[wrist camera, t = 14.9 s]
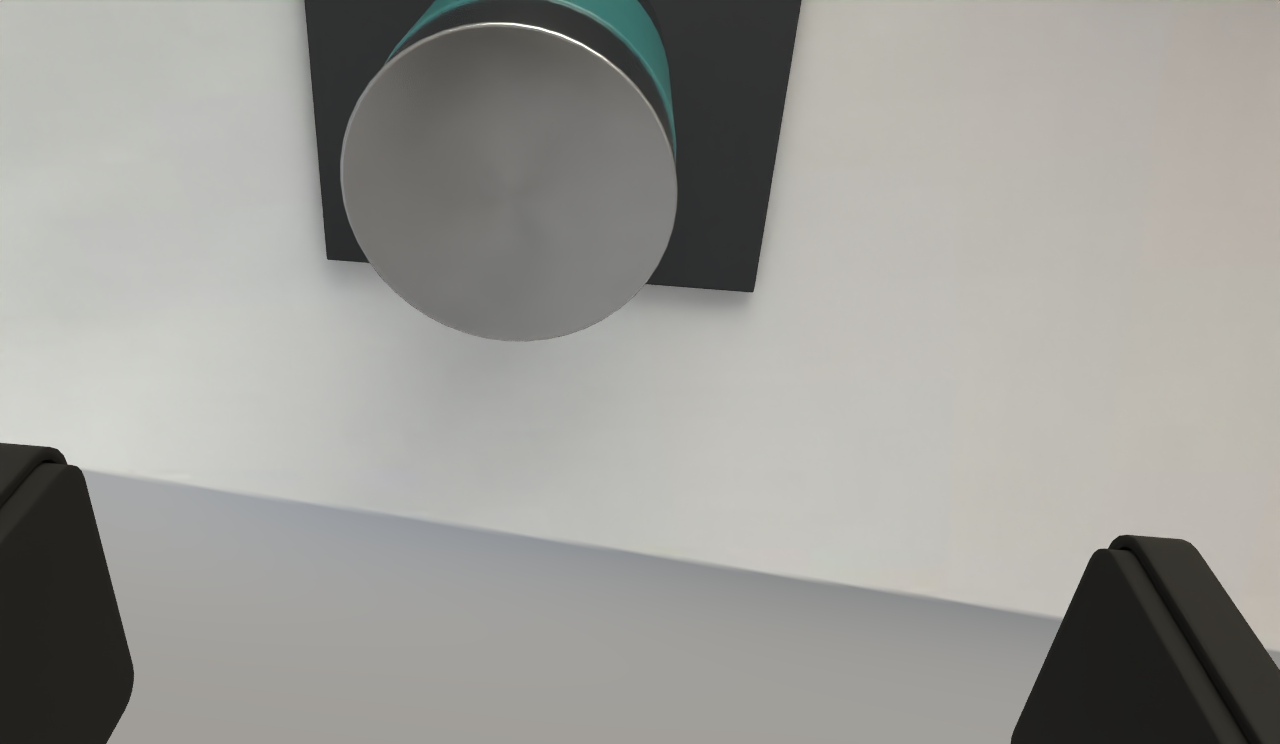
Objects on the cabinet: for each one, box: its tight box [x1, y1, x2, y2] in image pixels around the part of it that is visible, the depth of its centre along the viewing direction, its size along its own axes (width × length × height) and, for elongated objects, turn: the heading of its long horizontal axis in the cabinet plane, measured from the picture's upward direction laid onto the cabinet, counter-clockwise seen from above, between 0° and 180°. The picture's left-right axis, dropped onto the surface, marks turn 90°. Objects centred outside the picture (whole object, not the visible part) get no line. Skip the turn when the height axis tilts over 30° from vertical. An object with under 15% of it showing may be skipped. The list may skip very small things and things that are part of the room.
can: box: [340, 0, 678, 341], centre depth 21 cm, size 6×6×9 cm
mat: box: [305, 0, 801, 292], centre depth 25 cm, size 12×12×1 cm
